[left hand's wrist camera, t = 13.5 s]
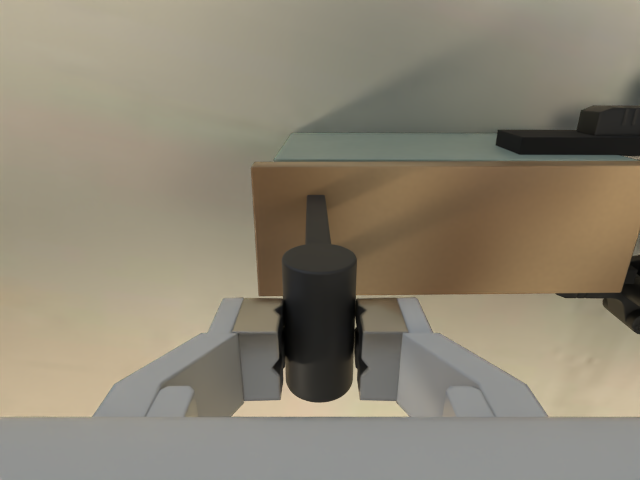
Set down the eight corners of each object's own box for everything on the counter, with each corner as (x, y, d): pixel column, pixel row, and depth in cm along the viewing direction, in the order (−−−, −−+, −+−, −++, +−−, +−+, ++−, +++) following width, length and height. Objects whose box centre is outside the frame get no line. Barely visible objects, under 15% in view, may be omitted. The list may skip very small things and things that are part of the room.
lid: (261, 285, 18) (225, 433, 10) (253, 161, 16) (204, 234, 8) (605, 281, 18) (810, 422, 11) (639, 160, 16) (920, 229, 9)
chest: (293, 217, 27) (278, 278, 19) (291, 132, 25) (273, 158, 17) (519, 219, 26) (604, 281, 18) (536, 133, 24) (639, 160, 16)
